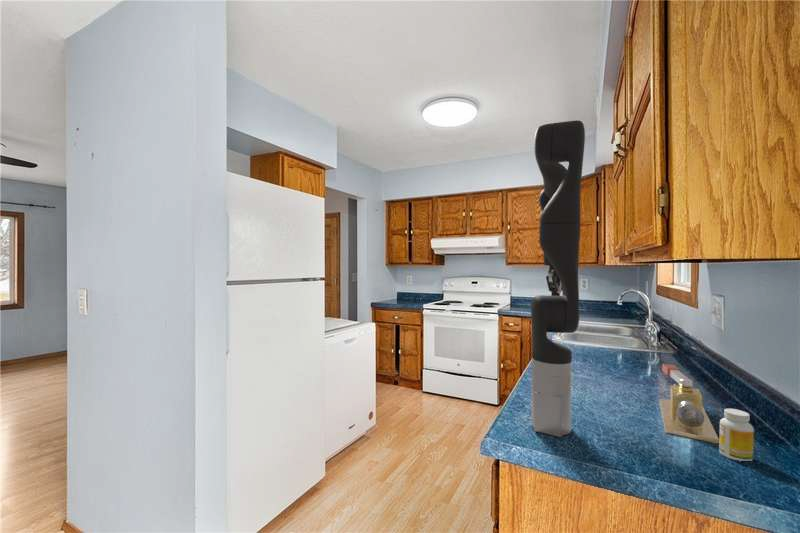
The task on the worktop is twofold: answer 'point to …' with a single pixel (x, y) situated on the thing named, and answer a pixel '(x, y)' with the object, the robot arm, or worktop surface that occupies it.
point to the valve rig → (687, 415)
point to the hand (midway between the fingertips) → (555, 304)
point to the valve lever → (677, 375)
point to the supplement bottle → (736, 435)
